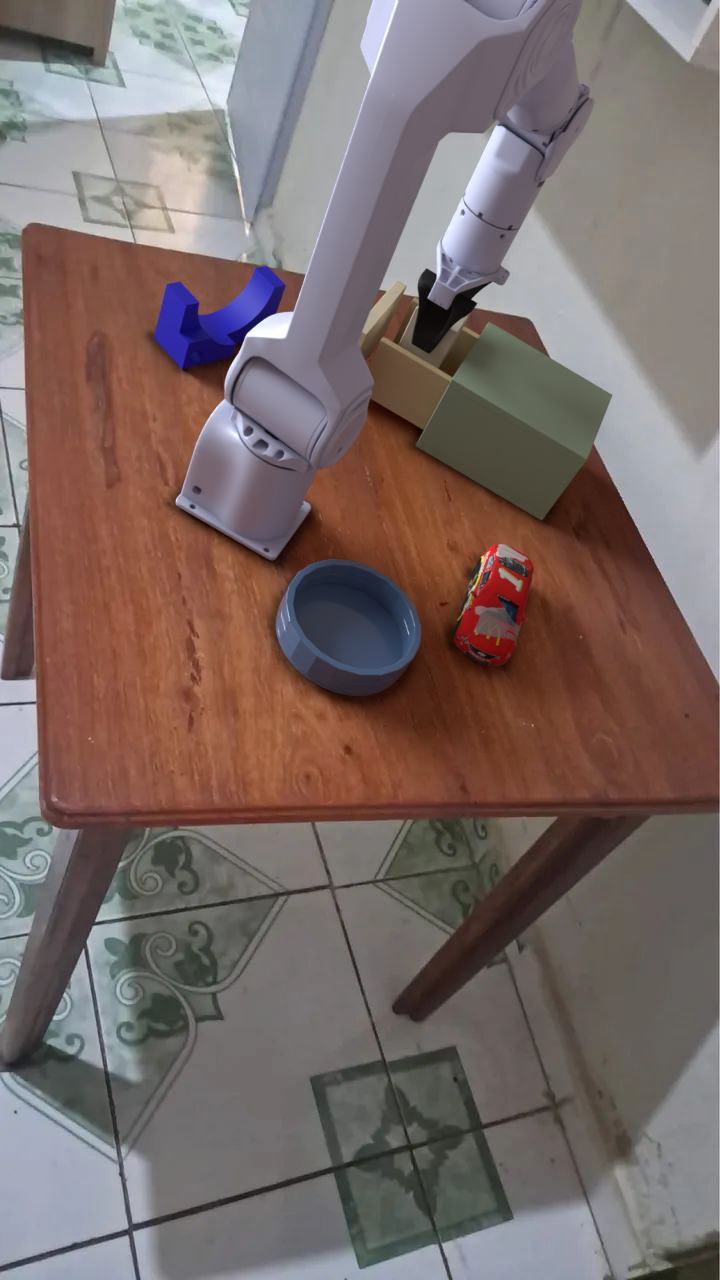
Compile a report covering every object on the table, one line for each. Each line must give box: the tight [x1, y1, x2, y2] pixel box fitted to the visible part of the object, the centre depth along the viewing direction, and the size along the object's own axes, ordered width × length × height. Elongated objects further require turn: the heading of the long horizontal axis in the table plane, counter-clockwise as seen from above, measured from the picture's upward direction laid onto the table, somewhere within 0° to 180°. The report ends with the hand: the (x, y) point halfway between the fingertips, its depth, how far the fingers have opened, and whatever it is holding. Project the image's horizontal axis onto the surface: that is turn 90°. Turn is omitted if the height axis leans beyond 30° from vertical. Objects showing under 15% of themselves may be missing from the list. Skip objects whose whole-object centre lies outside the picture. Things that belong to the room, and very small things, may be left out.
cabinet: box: [415, 321, 613, 521], centre depth 96 cm, size 15×13×9 cm
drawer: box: [358, 279, 481, 431], centre depth 95 cm, size 17×11×7 cm, turn 67°
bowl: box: [275, 558, 422, 697], centre depth 76 cm, size 11×11×3 cm
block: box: [399, 306, 471, 369], centre depth 92 cm, size 4×4×4 cm
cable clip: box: [153, 265, 287, 370], centre depth 91 cm, size 12×4×6 cm, turn 132°
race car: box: [451, 543, 534, 667], centre depth 83 cm, size 13×5×4 cm, turn 160°
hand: (429, 335), depth 93 cm, fingers closed on block, 4 cm apart
